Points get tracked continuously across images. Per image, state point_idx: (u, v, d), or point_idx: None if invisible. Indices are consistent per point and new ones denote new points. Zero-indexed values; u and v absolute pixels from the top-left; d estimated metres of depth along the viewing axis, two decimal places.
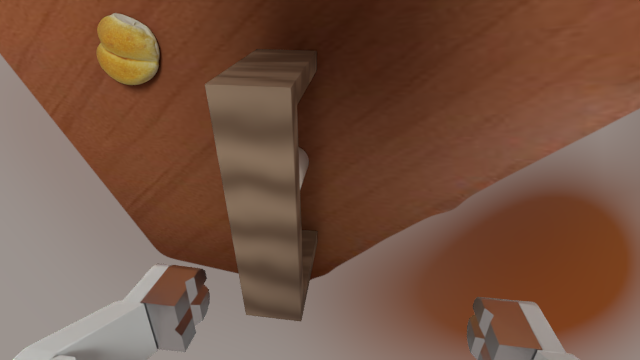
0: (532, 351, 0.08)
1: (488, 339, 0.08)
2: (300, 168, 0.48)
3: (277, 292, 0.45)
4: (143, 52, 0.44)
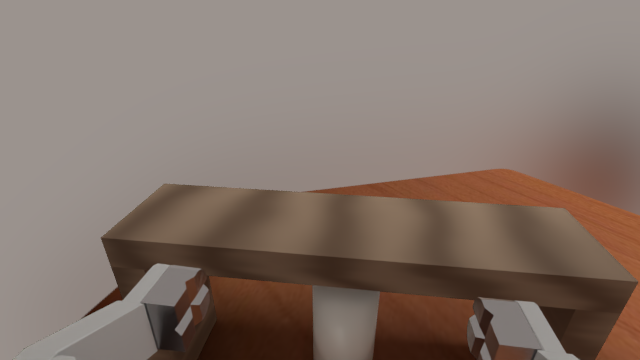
0: (532, 351, 0.08)
1: (488, 339, 0.08)
2: (359, 358, 0.27)
3: (200, 218, 0.25)
4: None
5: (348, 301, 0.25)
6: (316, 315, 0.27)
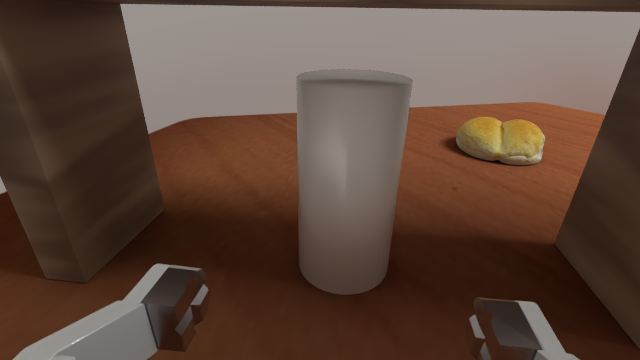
0: (532, 351, 0.08)
1: (488, 339, 0.08)
2: (373, 216, 0.16)
3: None
4: (517, 139, 0.34)
5: (358, 86, 0.14)
6: (302, 137, 0.16)
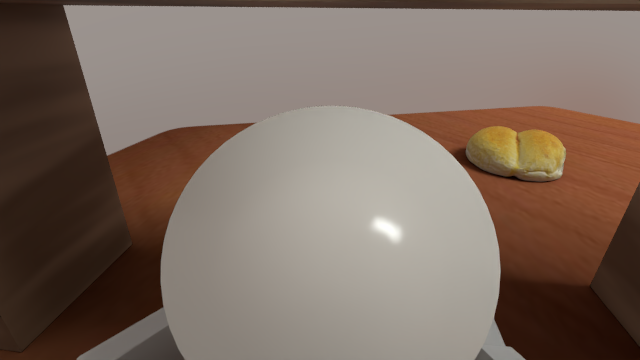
0: None
1: None
2: None
3: None
4: (536, 152, 0.31)
5: None
6: None
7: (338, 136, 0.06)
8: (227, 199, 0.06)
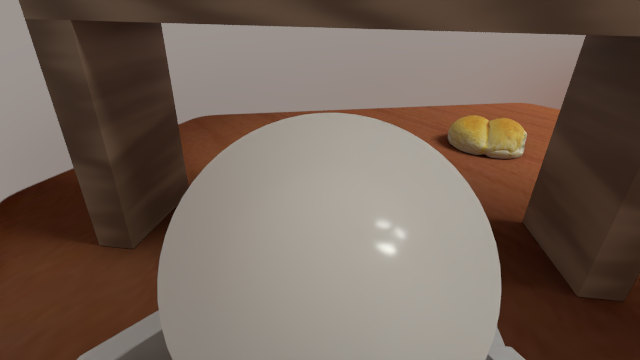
0: None
1: None
2: None
3: None
4: (501, 135, 0.38)
5: None
6: None
7: (337, 145, 0.06)
8: (224, 213, 0.06)
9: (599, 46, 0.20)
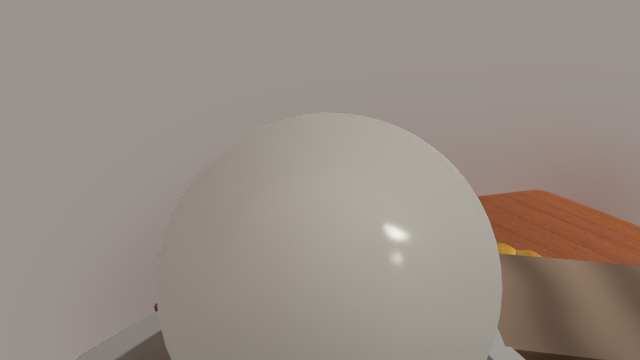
0: None
1: None
2: None
3: None
4: None
5: None
6: None
7: (337, 145, 0.06)
8: (223, 213, 0.06)
9: None
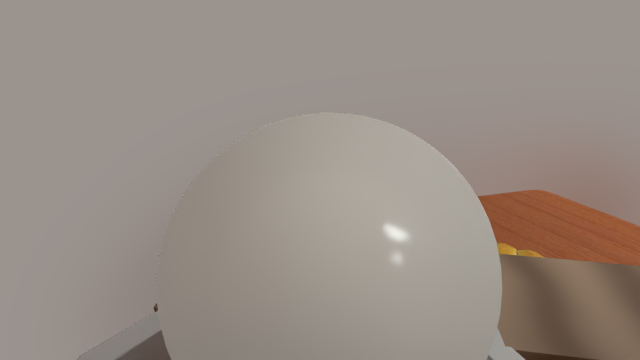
0: None
1: None
2: None
3: None
4: None
5: None
6: None
7: (337, 145, 0.06)
8: (223, 213, 0.06)
9: None
